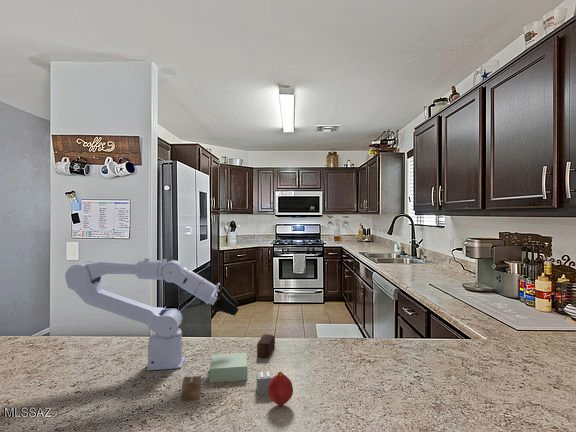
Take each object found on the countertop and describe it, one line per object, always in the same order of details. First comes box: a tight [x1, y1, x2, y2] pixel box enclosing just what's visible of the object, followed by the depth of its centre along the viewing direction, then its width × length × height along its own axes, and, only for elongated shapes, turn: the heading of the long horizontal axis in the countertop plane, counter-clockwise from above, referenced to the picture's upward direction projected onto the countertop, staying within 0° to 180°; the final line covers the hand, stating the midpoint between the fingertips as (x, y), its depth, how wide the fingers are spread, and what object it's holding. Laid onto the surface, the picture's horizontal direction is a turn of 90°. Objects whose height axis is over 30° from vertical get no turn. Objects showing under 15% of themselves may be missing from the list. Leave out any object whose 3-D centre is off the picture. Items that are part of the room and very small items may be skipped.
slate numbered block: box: [256, 370, 274, 396], centre depth 91 cm, size 4×4×4 cm
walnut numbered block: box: [181, 375, 202, 402], centre depth 88 cm, size 4×4×4 cm
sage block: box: [209, 352, 249, 383], centre depth 101 cm, size 10×10×4 cm
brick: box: [256, 333, 276, 359], centre depth 117 cm, size 11×4×5 cm, turn 172°
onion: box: [268, 370, 294, 407], centre depth 83 cm, size 6×6×8 cm
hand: (236, 309), depth 110 cm, fingers open, 7 cm apart
